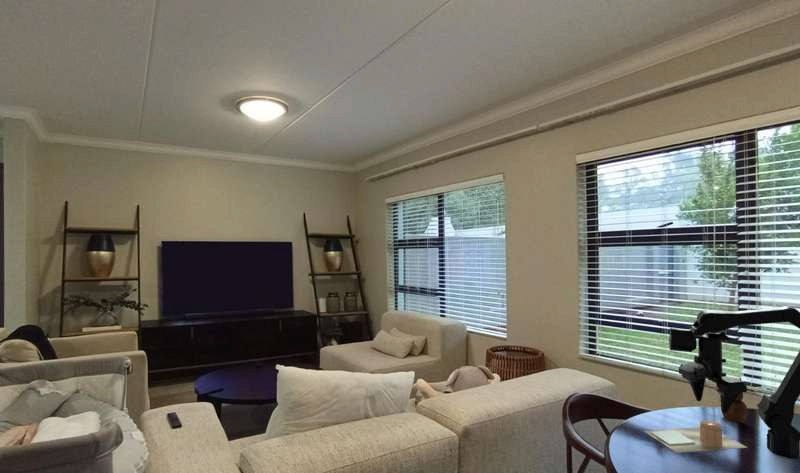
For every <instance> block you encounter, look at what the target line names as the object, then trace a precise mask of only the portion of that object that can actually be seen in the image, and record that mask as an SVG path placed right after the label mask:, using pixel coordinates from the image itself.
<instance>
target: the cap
mask: <svg viewBox="0 0 800 473" xmlns="http://www.w3.org/2000/svg"><path fill="white" fill-rule="evenodd" d="M699 423H700V424H699V427H700V440H701V441H703V442H705V443H707V444H711V445H722V434H723V425H722V424H720V423H719V422H717V421H712V420H701V421H700V422H699Z"/></svg>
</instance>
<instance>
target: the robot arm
mask: <svg viewBox="0 0 800 473" xmlns="http://www.w3.org/2000/svg"><path fill="white" fill-rule="evenodd" d="M778 323H790V324H791V325H792V326H794V327H796V328H798V329H800V311H799V310H797V308H794V307H792V306H789V305H788V306H787V305H783V306H781V307H779V306H778V307H772V308H771V307H770V308H760V309H749V310H738V311H737V310H736V311H728V310H727V311H726V310H721V309H719V310H717V309H704V310H701V311H699V312H698V314H697V316H696V320H695V322H694V323H692V325H690V327H688V328H689V329H688V328H678V327H669V336H668V347H669V351H671V352H672V351H673V352H684V353H685V352H686V353H693V351H695V350H698V355H697V354H696V355H694V357H693V359H694V360H693V361H691V362H688V363H686V364H685V363H684V364H683V363H682V364H681V363H680V365H679V367H678V375H679V374H680V375H681V376H682V378H683V379H685V380H687V381H688V382H689V385H690V386H691V387H690V388H691V389H692V392H693V394H694V397H695V400H696V401H697V402H701V401H702V399H703V394H704V389H705V385H706V384H705V383H706V381H707V380H708V381H710V382H713V383H715V385H716V387H717V389H715V391H716V392H717V393H718V394H719V395H720V396H719V398H720V410H721V409H722V411H721V414H722V413H727V411H728V410H729V408H730V406H731V405H732V403H733V402H734V400H735V399H736V398H737V396H738V395H739V394H743V395H744V393H747V391H748V386H747V383H746V382H744V381H743V380H741V381H740V379H737V378H736V377H735V378H734V377H727V372H724V371H723V363H727V359H726V358H724V357H723V341H731V340H732V339H731V337H729V336H728V335H727V334H726V333H725V331H727V330H729V329H732V328H735V327H739V326H740V327H741V326H750V325H751V326H754V325H766V324H778ZM697 341H698V345H697ZM697 346H698V347H697ZM697 348H698V349H697ZM787 370H788V371H787V372H786V374H785V376H784V377H783V379H782V381H781V383H780V384H779V386H778V388H777V389H776V391H775V392H774V393H772V395H770V396H768V395H767V394H765V393H763V395H762V398H761V401H759V403H758V404H756V406H757V408H758V409H757V413H758V414H757V415H758V416H759V418H760V419H761V420H762V421H763V423H764V424H765V425H766V427H768V429H767V433H766V448H768V450H769V451H770V452H771V453H773V454H775V455H777V456H779V457H784V458H786V459H789V460H794V459H800V431H799V429H798V428H797V427H796V426H794V424H793V420H794V416H795V404H796V403H797V401H798V400H799V397H800V350H799V351H798V353H797V354H796V357H795V358H794V360H793V361H792V363H791V365H790V367H789V369H787ZM726 377H727V378H726Z"/></svg>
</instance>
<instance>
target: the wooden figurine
mask: <svg viewBox="0 0 800 473" xmlns="http://www.w3.org/2000/svg"><path fill="white" fill-rule="evenodd" d="M739 380H740V381H742V377H739ZM743 399H744V393H743V394H739V395H738V396H737V398H736V399H735V400H734V402H733V403H732V405H731V406H730V408H729V410H728V411H727V413H722V409H721V408H720V411H721V414H722V416H723V418H724V419H725V420H726V421H727V420H728V421H730V422H734V423H739V424H740V423H741V424H744V423H745V421H746V419H747V416H748V407H747V405H746V403H745V402H744V401H743Z"/></svg>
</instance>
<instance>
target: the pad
mask: <svg viewBox="0 0 800 473" xmlns="http://www.w3.org/2000/svg"><path fill="white" fill-rule="evenodd" d="M651 434H652V435H654V436H656V437H657V438H659V439H660V440H662V441H663V442H665V443H666V444H668V445H669V446H673V445H687V444H695V442H694V441H692V440H691V439H689V438H687V437H685V436H684V435H682V434H680V433H679V432H677V431H675V430H672V431H656V432H651Z"/></svg>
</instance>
